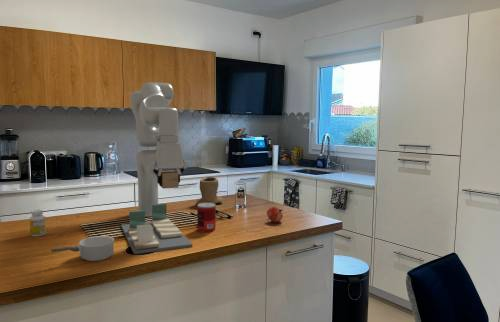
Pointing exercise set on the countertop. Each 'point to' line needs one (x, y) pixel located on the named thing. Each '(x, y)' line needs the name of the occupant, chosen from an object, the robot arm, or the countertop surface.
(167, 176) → the cube
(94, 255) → the saucepan
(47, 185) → the countertop surface
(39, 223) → the supplement bottle
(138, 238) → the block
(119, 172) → the countertop surface
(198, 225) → the canned food
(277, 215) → the pomegranate
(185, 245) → the mat
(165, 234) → the strip
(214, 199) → the stone cup
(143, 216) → the broken strip
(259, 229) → the countertop surface
